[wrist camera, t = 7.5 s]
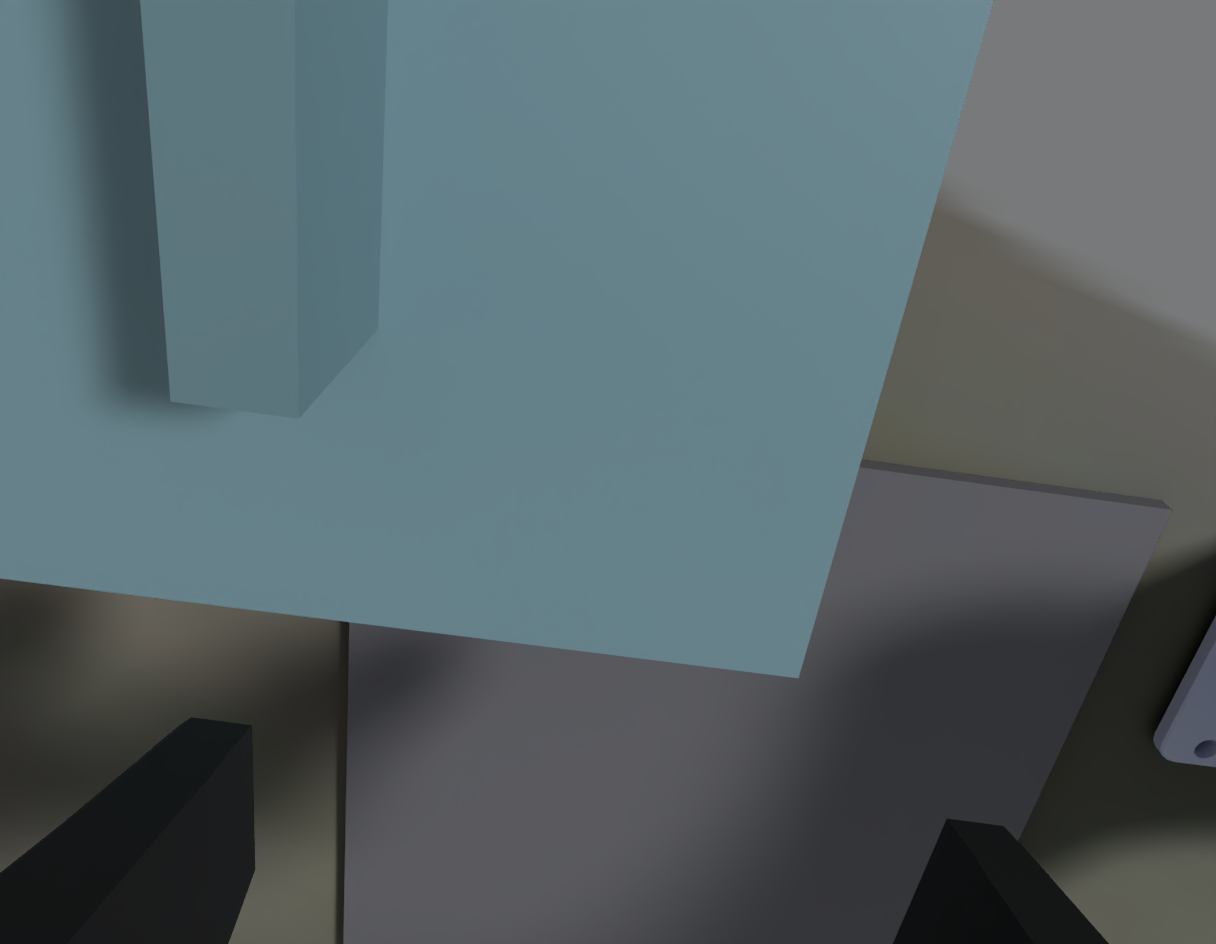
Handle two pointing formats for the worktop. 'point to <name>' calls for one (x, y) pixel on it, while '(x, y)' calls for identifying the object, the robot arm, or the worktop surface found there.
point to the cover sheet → (462, 304)
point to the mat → (741, 739)
